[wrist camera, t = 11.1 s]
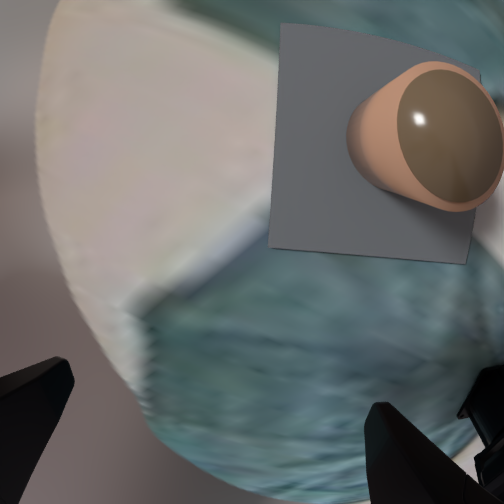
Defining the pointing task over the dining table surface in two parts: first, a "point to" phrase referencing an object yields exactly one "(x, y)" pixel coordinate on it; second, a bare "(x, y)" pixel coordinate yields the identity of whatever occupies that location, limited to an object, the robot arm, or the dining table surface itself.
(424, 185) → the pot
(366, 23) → the dining table surface
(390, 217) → the mat
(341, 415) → the dining table surface
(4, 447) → the robot arm
